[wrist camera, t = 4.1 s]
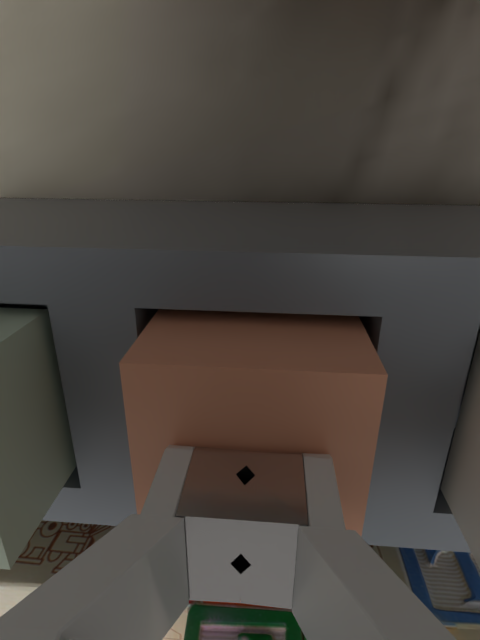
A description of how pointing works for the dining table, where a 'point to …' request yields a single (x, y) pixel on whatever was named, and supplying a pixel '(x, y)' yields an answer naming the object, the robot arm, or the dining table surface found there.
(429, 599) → the stack of blocks
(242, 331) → the terracotta button
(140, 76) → the dining table surface
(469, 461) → the cream button
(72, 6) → the dining table surface
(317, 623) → the robot arm
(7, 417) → the sage button
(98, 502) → the button console
